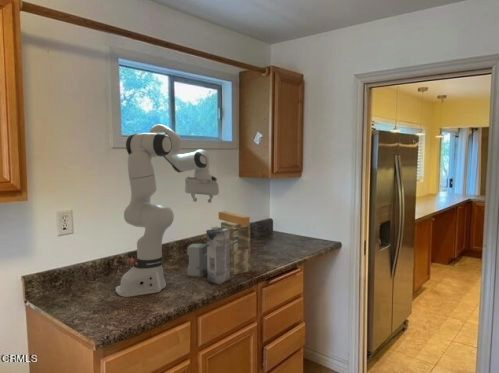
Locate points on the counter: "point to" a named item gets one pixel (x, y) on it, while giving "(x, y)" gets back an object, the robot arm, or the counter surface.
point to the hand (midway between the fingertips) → (202, 201)
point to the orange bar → (234, 218)
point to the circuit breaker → (197, 260)
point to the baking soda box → (235, 239)
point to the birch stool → (239, 248)
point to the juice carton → (218, 255)
